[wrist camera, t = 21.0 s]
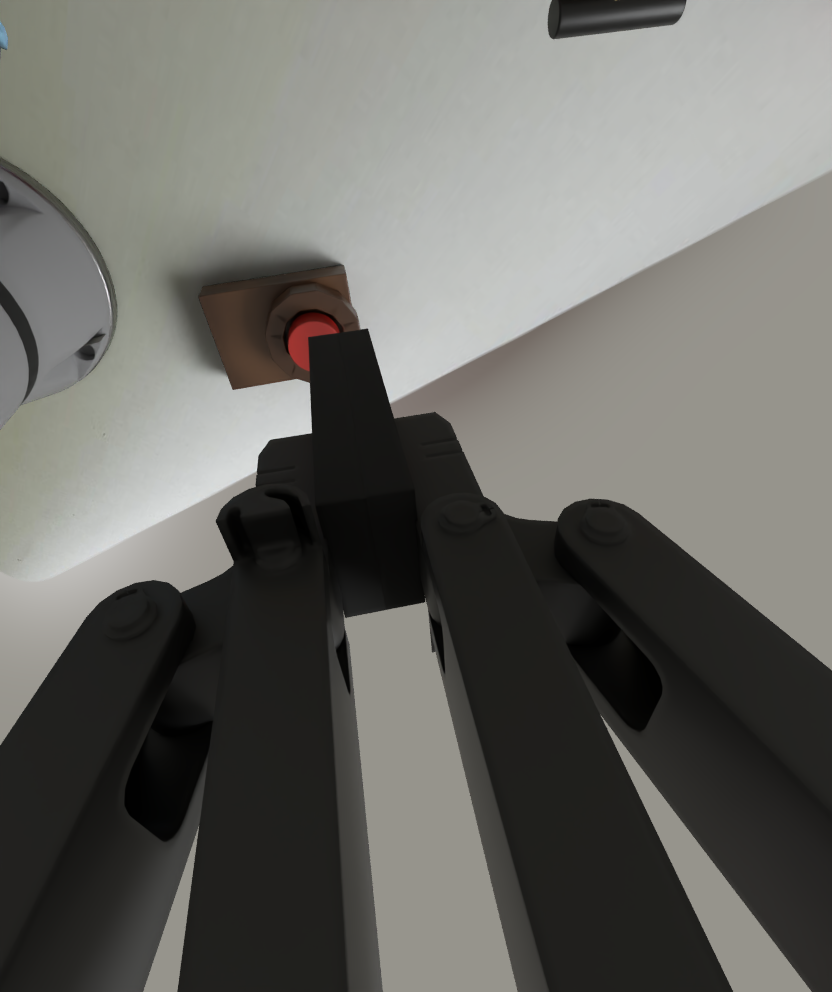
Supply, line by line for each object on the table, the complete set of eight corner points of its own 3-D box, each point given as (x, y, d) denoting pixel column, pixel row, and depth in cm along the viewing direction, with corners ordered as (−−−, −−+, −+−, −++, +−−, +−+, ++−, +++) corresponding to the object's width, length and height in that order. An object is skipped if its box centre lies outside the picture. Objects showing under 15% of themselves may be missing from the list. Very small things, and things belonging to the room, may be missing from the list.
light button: (295, 365, 36) (295, 376, 35) (282, 316, 34) (281, 325, 32) (344, 357, 36) (346, 367, 35) (334, 307, 34) (336, 316, 33)
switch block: (235, 377, 39) (230, 401, 36) (202, 286, 35) (193, 305, 32) (363, 355, 40) (368, 377, 37) (347, 263, 36) (352, 280, 33)
